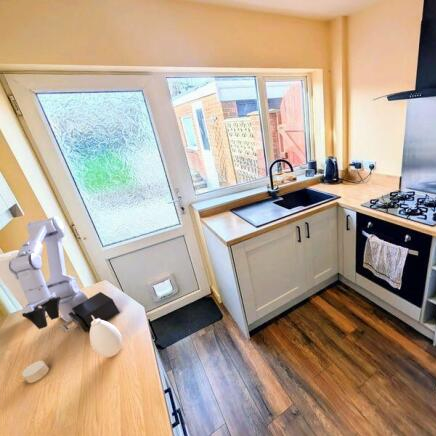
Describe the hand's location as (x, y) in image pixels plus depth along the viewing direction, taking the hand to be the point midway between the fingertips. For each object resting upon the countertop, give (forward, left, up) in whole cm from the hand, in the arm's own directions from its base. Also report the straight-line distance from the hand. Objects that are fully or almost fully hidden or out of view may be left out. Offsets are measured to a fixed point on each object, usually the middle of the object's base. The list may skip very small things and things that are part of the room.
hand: (49, 322), depth 88 cm
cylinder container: (-3, -30, -10) cm, 32 cm away
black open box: (-9, 0, -9) cm, 13 cm away
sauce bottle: (-7, +24, -10) cm, 27 cm away
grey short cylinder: (+10, +8, -10) cm, 16 cm away
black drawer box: (-13, 0, -10) cm, 16 cm away
